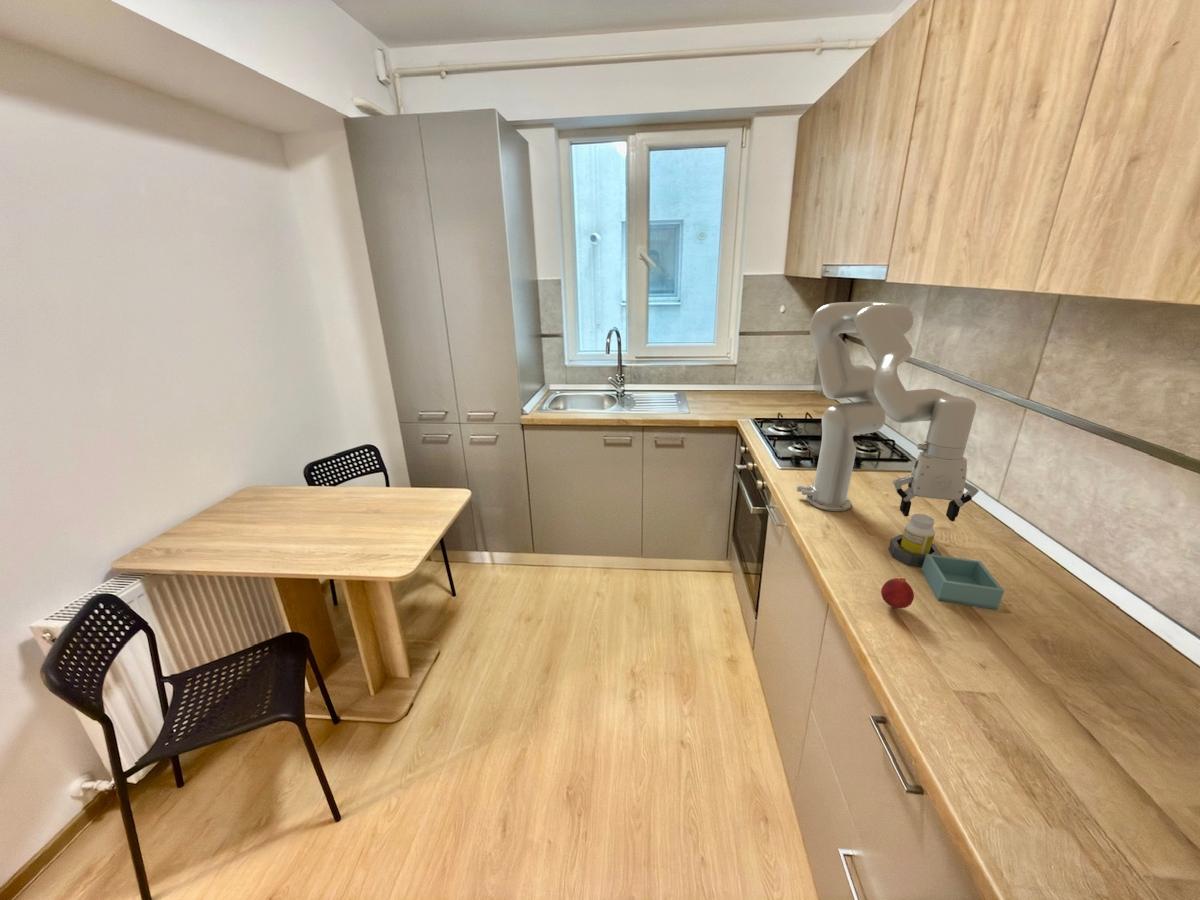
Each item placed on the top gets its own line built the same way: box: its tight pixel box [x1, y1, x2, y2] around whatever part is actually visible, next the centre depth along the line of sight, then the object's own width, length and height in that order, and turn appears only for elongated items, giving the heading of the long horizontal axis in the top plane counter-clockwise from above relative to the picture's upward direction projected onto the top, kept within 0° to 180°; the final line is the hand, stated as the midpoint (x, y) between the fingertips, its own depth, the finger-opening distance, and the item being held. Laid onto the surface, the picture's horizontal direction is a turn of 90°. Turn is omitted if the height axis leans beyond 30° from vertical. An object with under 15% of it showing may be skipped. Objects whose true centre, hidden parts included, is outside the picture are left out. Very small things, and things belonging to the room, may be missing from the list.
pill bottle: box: [900, 513, 936, 555], centre depth 116 cm, size 6×6×11 cm
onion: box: [880, 576, 915, 610], centre depth 99 cm, size 6×6×8 cm
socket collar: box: [887, 533, 942, 569], centre depth 118 cm, size 10×10×3 cm
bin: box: [920, 554, 1005, 611], centre depth 105 cm, size 11×11×5 cm
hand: (926, 516), depth 113 cm, fingers open, 9 cm apart
